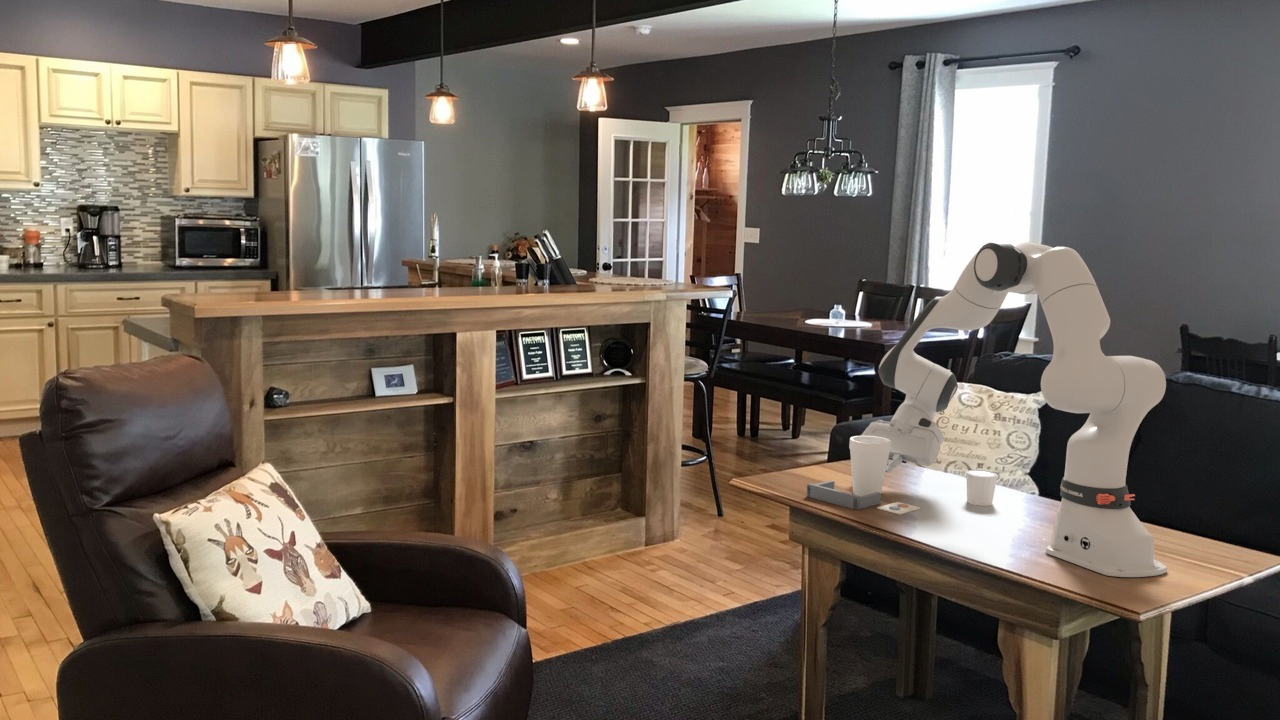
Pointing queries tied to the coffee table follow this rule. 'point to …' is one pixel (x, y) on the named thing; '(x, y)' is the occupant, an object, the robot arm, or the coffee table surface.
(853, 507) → the grey cup holder
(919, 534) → the coffee table surface
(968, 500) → the shot glass
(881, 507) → the card
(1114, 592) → the coffee table surface
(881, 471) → the foam cup
